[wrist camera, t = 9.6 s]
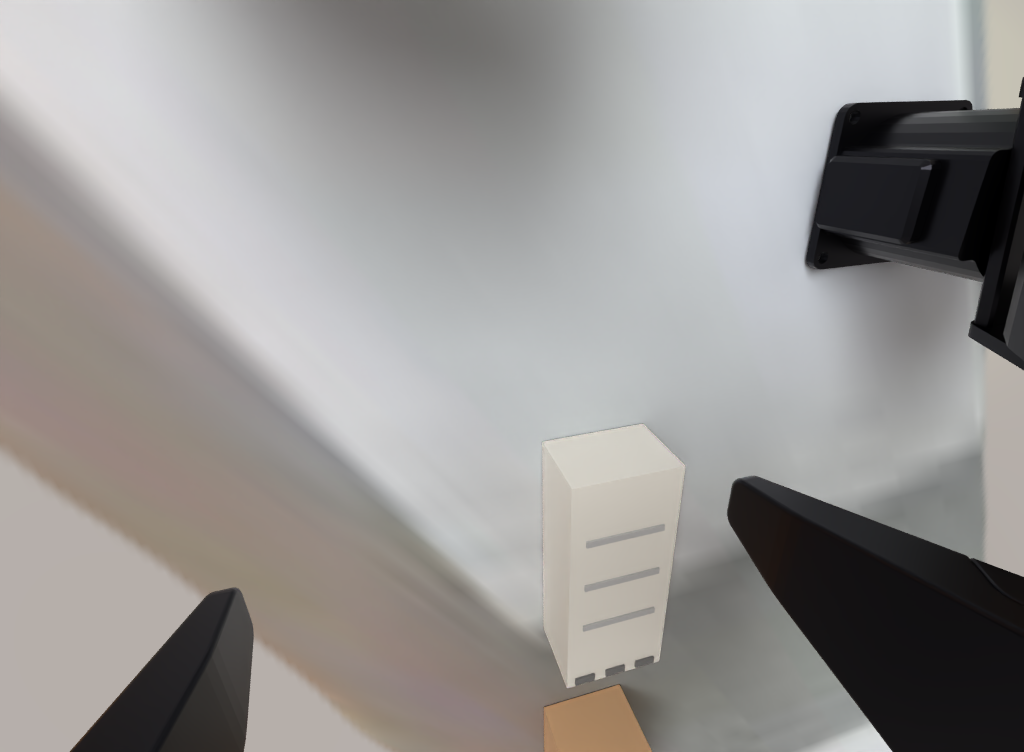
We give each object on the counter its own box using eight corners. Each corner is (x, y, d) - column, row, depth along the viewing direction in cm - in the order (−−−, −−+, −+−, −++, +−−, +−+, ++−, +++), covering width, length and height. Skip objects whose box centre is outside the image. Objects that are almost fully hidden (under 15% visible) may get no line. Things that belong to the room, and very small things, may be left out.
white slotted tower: (642, 423, 24) (687, 467, 21) (626, 605, 30) (660, 663, 26) (542, 441, 23) (572, 491, 20) (543, 627, 28) (568, 690, 25)
